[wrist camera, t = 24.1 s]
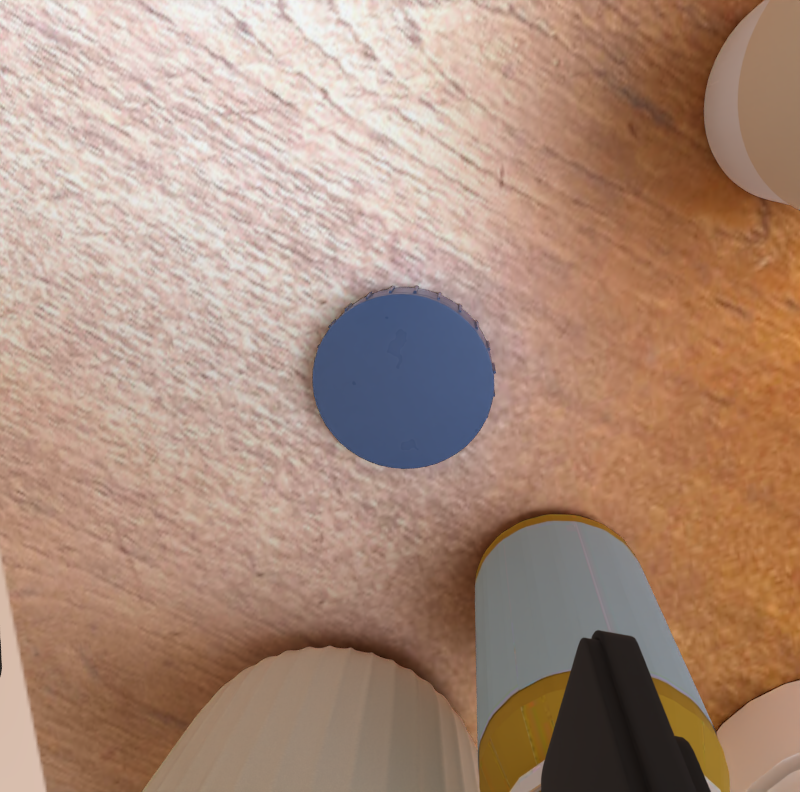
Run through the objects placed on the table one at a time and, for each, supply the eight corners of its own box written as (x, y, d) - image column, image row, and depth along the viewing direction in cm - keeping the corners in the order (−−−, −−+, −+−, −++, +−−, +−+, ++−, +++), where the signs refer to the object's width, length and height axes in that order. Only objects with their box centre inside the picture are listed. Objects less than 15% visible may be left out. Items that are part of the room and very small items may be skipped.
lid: (465, 472, 28) (465, 490, 26) (304, 428, 28) (294, 443, 26) (516, 312, 26) (520, 321, 24) (341, 264, 26) (332, 270, 24)
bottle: (645, 507, 27) (837, 857, 13) (632, 650, 30) (785, 1083, 15) (475, 504, 28) (484, 833, 14) (474, 643, 30) (480, 1052, 16)
